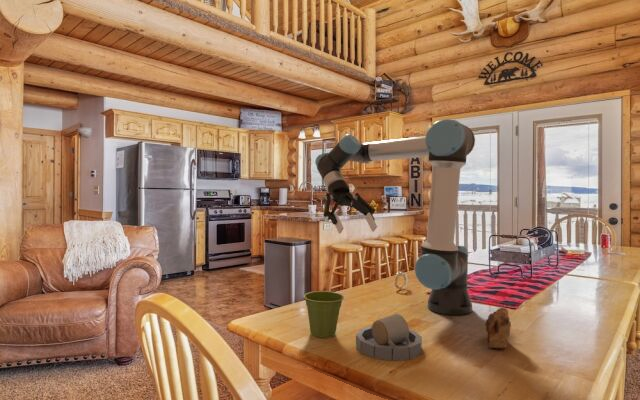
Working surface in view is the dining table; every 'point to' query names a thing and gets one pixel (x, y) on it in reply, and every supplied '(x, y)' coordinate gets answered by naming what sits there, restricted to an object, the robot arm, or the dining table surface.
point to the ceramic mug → (390, 330)
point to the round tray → (394, 353)
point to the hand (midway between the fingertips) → (358, 230)
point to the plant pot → (323, 312)
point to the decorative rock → (498, 328)
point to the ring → (398, 278)
